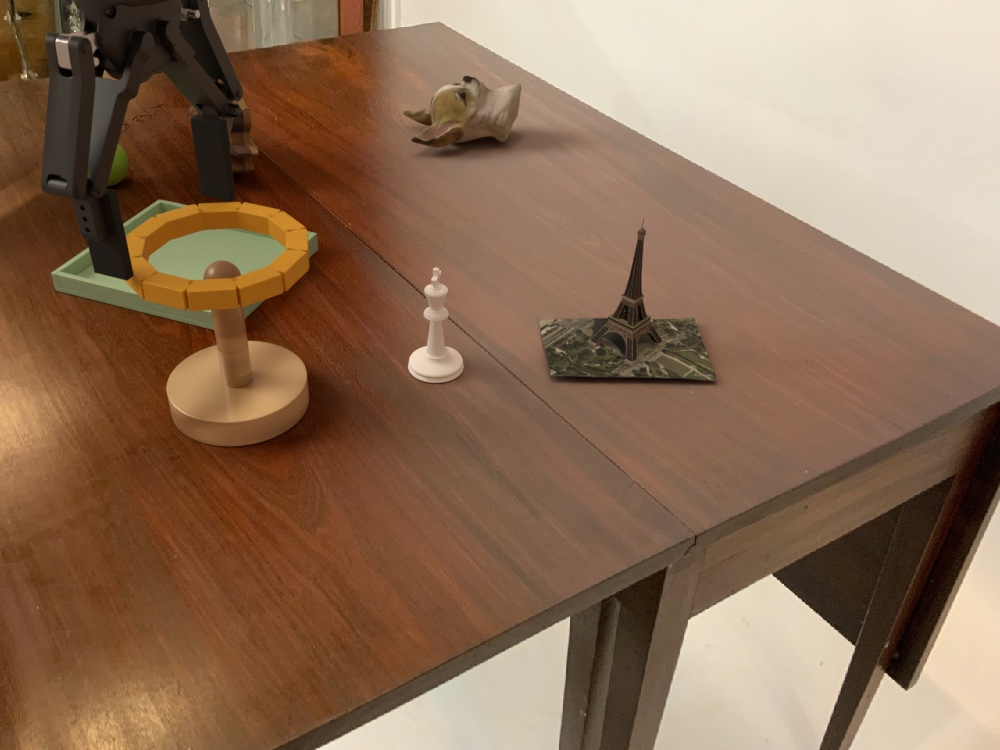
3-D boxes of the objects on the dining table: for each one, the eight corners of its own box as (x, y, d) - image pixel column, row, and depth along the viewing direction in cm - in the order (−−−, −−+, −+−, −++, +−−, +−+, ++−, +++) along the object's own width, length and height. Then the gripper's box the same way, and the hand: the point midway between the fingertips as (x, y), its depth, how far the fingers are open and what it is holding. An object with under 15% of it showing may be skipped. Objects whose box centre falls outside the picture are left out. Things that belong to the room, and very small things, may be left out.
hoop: (85, 285, 70) (80, 266, 69) (192, 207, 80) (189, 189, 79) (249, 327, 66) (247, 307, 65) (339, 240, 77) (338, 222, 76)
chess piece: (469, 355, 88) (471, 258, 82) (456, 387, 84) (457, 288, 78) (416, 347, 89) (415, 250, 83) (401, 378, 85) (398, 279, 79)
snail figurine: (132, 169, 116) (112, 69, 109) (133, 192, 111) (112, 89, 104) (83, 173, 115) (60, 72, 107) (82, 196, 110) (58, 93, 103)
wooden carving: (179, 148, 121) (166, 69, 115) (213, 140, 124) (202, 62, 118) (239, 198, 111) (228, 114, 105) (275, 188, 113) (267, 105, 108)
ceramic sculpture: (529, 86, 119) (407, 96, 117) (529, 152, 124) (413, 163, 122) (513, 58, 127) (399, 67, 125) (513, 121, 132) (404, 131, 130)
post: (142, 426, 78) (109, 283, 70) (219, 352, 87) (198, 217, 79) (265, 461, 75) (245, 316, 67) (332, 381, 84) (322, 244, 76)
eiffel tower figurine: (547, 383, 85) (559, 248, 77) (538, 319, 93) (548, 192, 85) (716, 384, 86) (745, 251, 78) (693, 321, 94) (716, 195, 86)
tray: (55, 290, 94) (50, 272, 93) (162, 215, 107) (159, 198, 106) (229, 334, 89) (226, 315, 88) (318, 249, 102) (317, 232, 101)
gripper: (26, -17, 50) (107, 327, 63) (271, -101, 69) (295, 177, 82) (-90, -36, 52) (11, 302, 65) (180, -113, 71) (217, 161, 84)
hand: (170, 233), depth 73 cm, fingers closed on hoop, 12 cm apart
